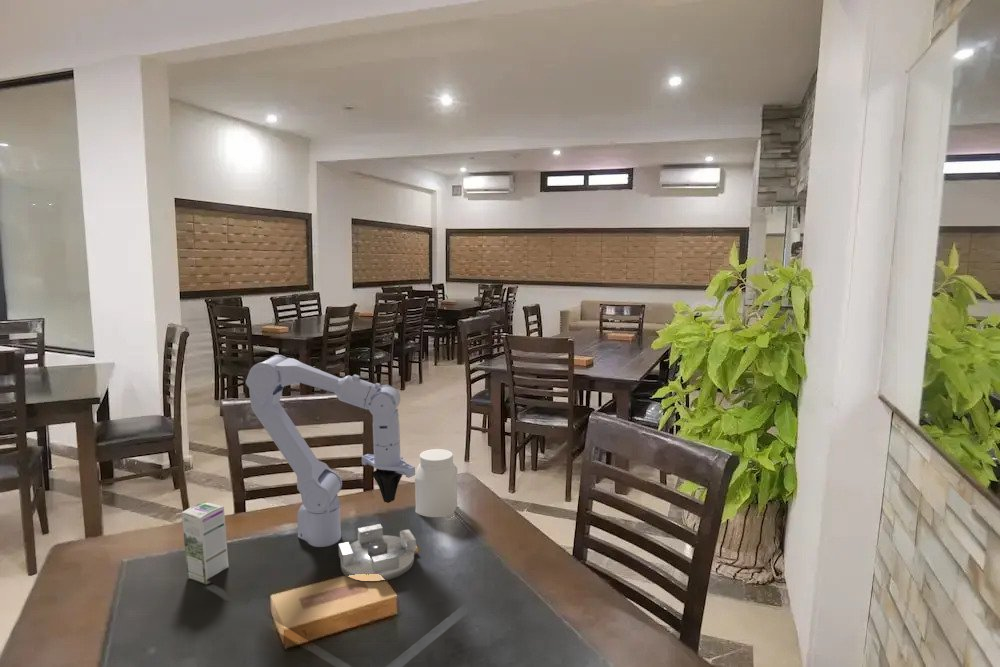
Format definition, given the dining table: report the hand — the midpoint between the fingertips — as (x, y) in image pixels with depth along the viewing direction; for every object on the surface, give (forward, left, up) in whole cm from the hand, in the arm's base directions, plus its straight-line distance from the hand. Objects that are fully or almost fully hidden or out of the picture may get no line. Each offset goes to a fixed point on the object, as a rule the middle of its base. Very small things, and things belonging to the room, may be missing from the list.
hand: (389, 500), depth 132 cm
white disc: (+5, -8, -9) cm, 13 cm away
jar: (-2, +19, -11) cm, 22 cm away
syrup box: (-21, -30, -11) cm, 38 cm away
